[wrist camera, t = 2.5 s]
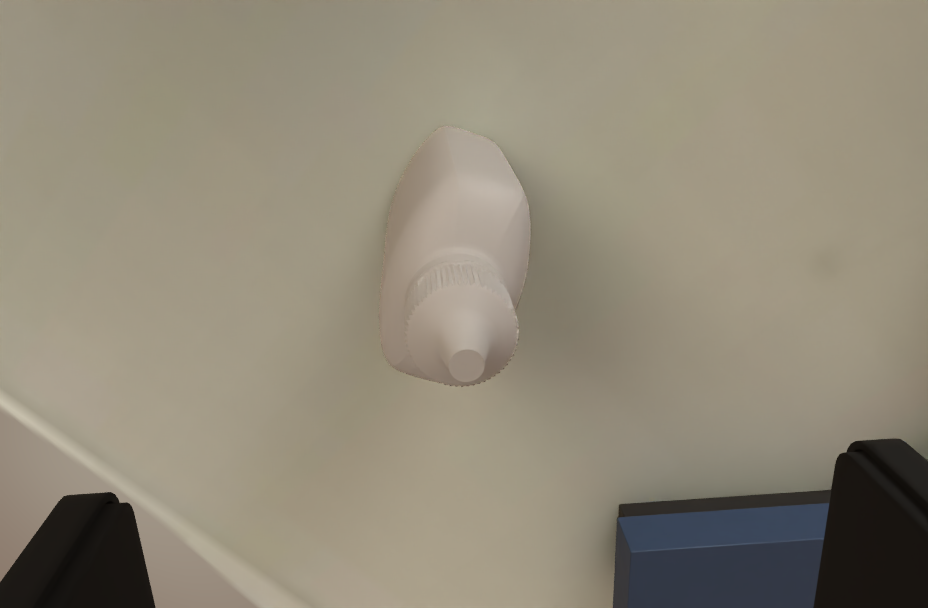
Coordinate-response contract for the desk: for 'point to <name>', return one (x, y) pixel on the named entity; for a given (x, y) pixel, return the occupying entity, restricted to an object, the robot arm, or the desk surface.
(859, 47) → the desk surface
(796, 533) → the navy rectangular block
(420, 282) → the eye dropper bottle
